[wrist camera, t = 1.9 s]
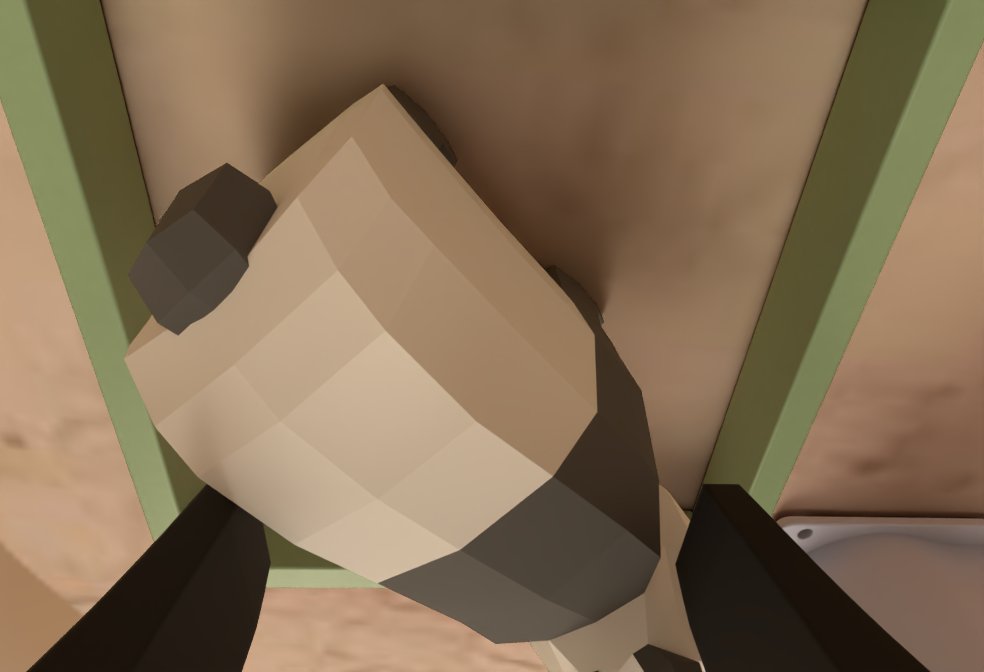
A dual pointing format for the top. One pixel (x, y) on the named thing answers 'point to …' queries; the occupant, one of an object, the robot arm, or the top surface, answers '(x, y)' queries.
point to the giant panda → (413, 394)
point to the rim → (781, 327)
